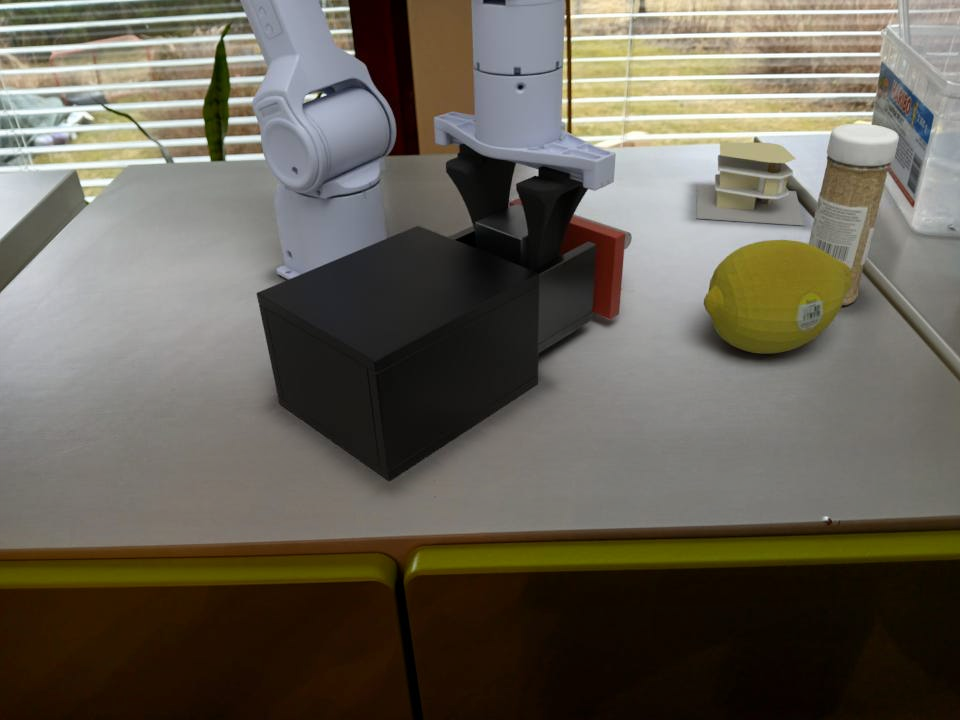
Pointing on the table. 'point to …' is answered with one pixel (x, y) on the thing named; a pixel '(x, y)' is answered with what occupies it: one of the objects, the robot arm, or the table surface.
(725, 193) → the stacked layers on plate
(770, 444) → the table surface
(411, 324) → the black drawer cabinet
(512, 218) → the steel block
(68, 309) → the table surface
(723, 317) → the lemon
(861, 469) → the table surface
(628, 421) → the table surface
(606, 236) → the red-fronted pull-out drawer
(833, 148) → the seasoning bottle
